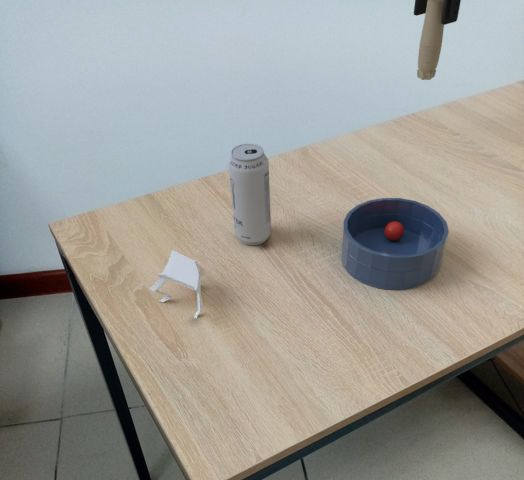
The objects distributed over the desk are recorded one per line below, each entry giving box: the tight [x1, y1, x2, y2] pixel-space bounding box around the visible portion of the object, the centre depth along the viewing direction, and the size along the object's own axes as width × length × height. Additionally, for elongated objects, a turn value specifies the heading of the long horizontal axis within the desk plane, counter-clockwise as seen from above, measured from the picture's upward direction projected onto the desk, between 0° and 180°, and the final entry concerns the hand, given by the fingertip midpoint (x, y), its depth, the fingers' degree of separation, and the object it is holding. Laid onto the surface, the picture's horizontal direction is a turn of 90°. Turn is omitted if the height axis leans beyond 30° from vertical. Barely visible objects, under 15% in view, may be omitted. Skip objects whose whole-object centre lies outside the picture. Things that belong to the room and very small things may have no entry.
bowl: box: [340, 197, 450, 291], centre depth 81 cm, size 15×15×6 cm
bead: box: [385, 222, 404, 241], centre depth 84 cm, size 3×3×3 cm
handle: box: [416, 0, 445, 81], centre depth 95 cm, size 5×6×15 cm
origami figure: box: [148, 248, 205, 319], centre depth 77 cm, size 12×8×5 cm
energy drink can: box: [227, 143, 272, 246], centre depth 83 cm, size 6×6×15 cm
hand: (434, 17), depth 93 cm, fingers closed on handle, 6 cm apart
